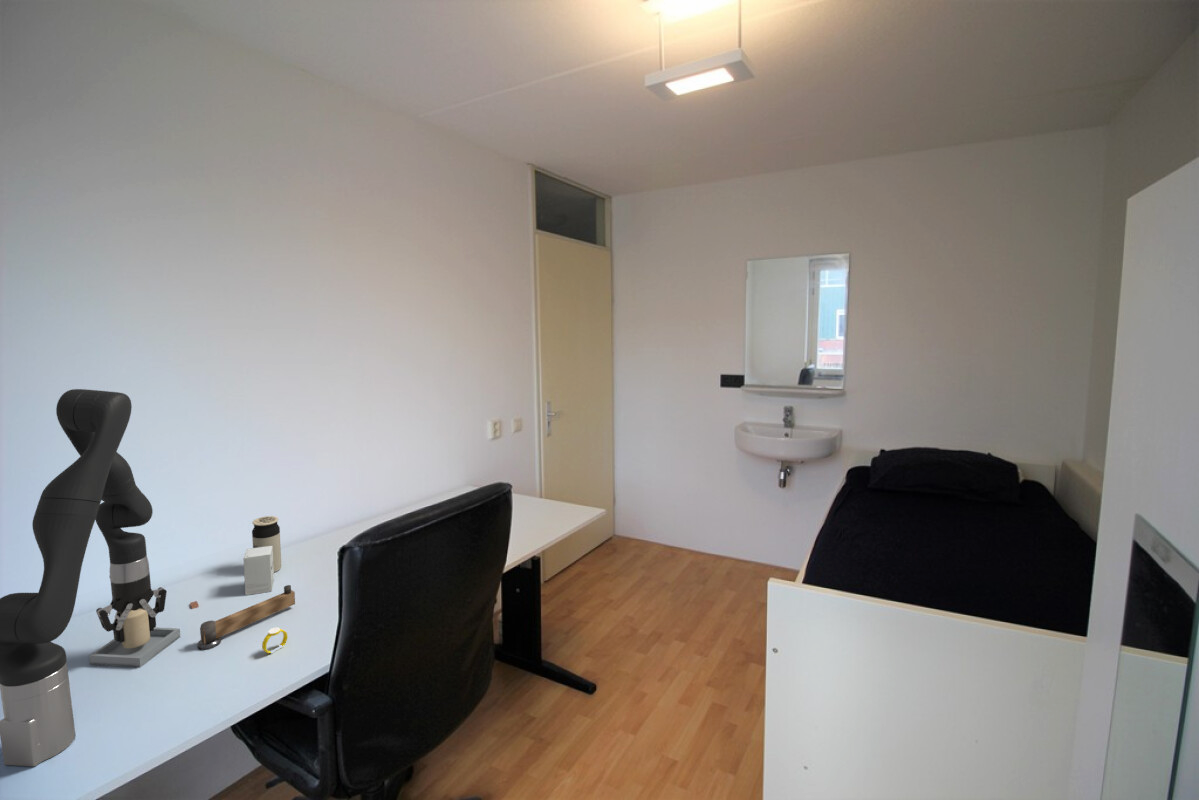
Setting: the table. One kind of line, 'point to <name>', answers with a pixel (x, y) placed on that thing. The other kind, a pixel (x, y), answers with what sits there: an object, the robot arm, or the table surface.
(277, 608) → the crank lever
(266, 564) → the supplement box
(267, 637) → the watch
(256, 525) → the travel mug
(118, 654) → the tray
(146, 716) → the table surface
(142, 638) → the candle
